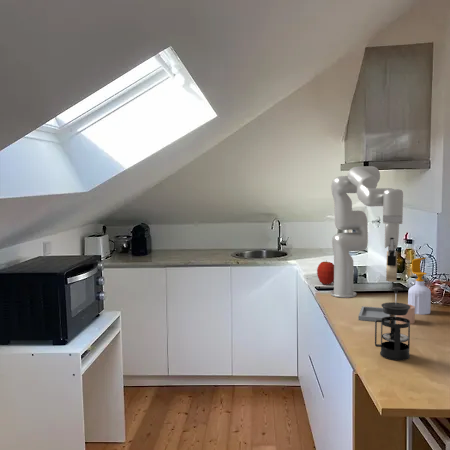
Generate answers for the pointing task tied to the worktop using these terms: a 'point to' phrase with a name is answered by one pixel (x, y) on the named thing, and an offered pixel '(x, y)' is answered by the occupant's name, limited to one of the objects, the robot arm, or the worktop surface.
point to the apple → (326, 272)
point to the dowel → (391, 271)
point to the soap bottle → (419, 291)
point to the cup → (408, 315)
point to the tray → (372, 314)
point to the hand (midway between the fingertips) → (391, 264)
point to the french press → (394, 331)
